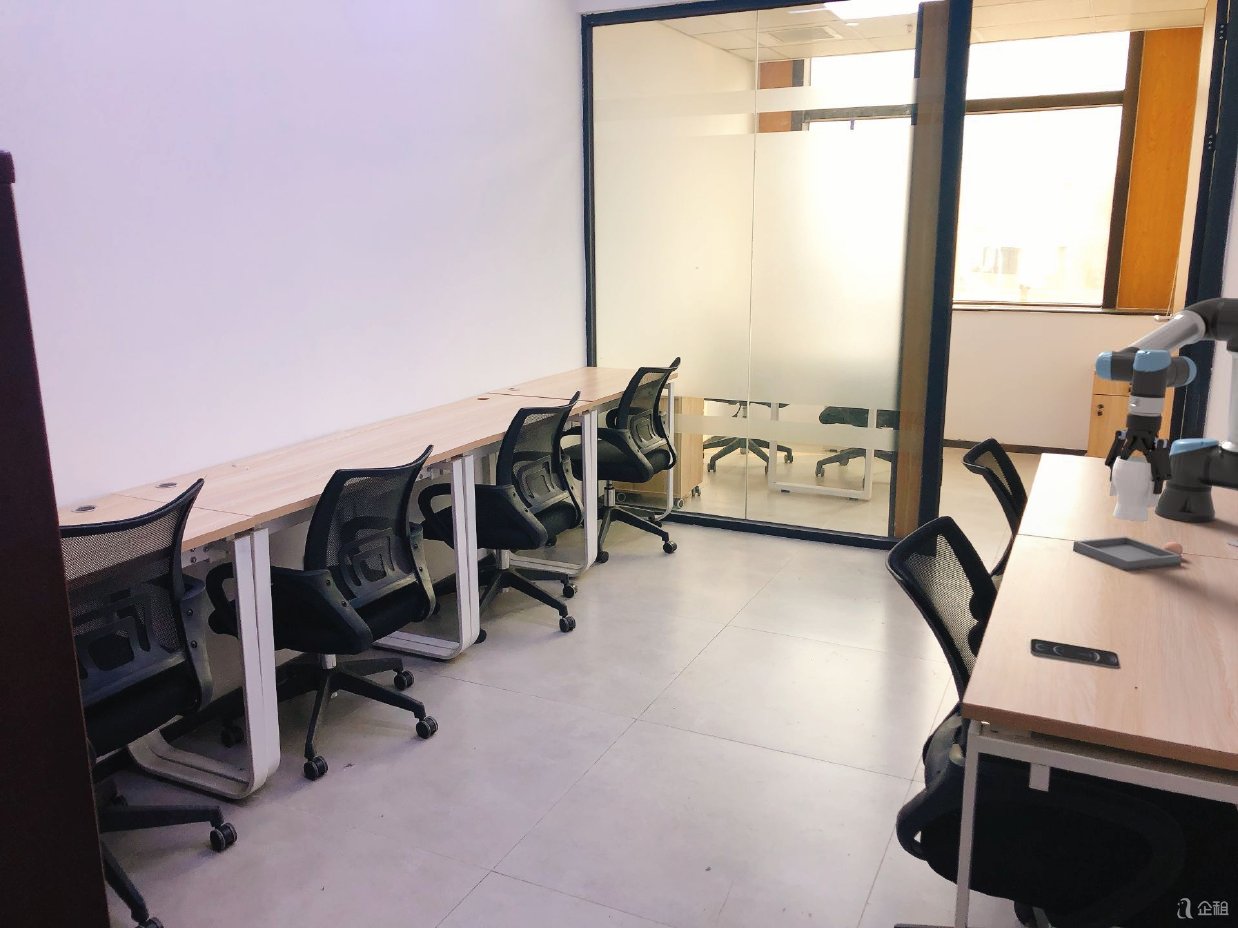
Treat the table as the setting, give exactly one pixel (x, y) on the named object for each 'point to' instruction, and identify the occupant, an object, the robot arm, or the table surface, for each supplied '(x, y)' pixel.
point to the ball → (1174, 547)
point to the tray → (1127, 553)
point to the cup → (1132, 488)
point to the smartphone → (1074, 653)
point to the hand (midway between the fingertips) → (1133, 500)
